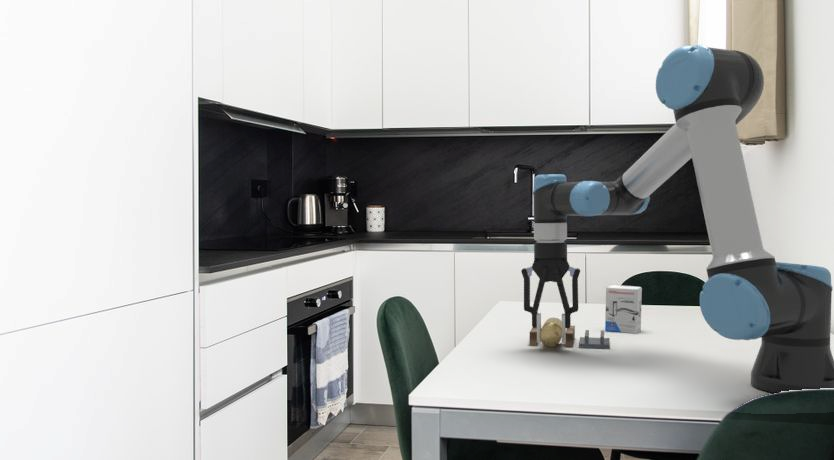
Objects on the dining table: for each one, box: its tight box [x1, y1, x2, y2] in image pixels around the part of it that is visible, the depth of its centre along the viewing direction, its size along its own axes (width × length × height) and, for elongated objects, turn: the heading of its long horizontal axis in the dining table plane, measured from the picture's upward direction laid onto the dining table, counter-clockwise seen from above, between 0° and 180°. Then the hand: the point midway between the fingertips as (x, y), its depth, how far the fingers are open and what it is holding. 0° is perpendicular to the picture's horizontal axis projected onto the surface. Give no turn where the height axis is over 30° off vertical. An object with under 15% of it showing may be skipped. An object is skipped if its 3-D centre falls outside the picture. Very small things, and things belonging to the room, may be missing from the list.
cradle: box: [578, 329, 611, 350], centre depth 198 cm, size 9×7×3 cm
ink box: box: [604, 284, 643, 335], centre depth 217 cm, size 9×5×12 cm, turn 62°
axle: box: [539, 317, 562, 347], centre depth 195 cm, size 12×5×5 cm, turn 167°
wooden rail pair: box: [529, 325, 576, 348], centre depth 202 cm, size 12×10×3 cm
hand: (551, 341), depth 192 cm, fingers closed on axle, 5 cm apart
